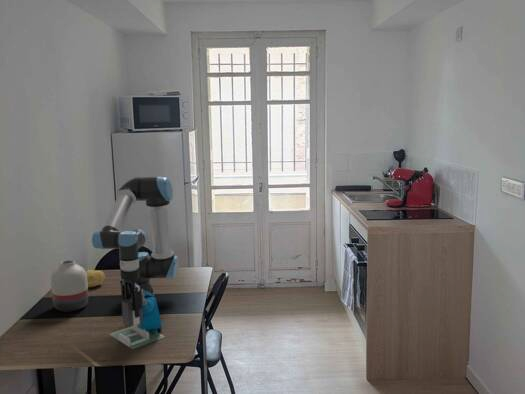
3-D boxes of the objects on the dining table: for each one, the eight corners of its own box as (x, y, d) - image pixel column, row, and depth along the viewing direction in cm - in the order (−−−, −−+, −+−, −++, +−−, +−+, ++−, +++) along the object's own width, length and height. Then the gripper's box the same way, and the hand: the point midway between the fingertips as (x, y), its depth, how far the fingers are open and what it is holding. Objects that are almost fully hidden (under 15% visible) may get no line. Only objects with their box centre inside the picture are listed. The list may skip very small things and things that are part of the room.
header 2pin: (131, 328, 228) (130, 322, 228) (144, 324, 233) (143, 318, 232) (137, 332, 224) (137, 326, 224) (150, 327, 229) (150, 321, 228)
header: (119, 340, 217) (118, 332, 216) (139, 333, 223) (139, 325, 223) (128, 346, 211) (128, 338, 210) (149, 339, 218) (149, 331, 217)
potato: (79, 284, 289) (78, 268, 288) (106, 283, 292) (105, 266, 290) (76, 291, 280) (74, 274, 278) (103, 289, 282) (102, 272, 280)
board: (108, 336, 223) (108, 333, 223) (141, 325, 234) (141, 322, 234) (132, 351, 209) (132, 348, 209) (165, 339, 220) (165, 336, 220)
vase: (65, 300, 267) (61, 256, 262) (95, 301, 263) (92, 257, 259) (46, 312, 250) (41, 266, 246) (77, 315, 247) (74, 267, 243)
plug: (122, 323, 215) (121, 299, 213) (137, 318, 220) (136, 295, 218) (128, 326, 211) (127, 303, 210) (143, 322, 216) (142, 298, 214)
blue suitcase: (163, 338, 221) (161, 294, 217) (138, 341, 218) (136, 296, 215) (160, 322, 237) (158, 281, 233) (137, 325, 234) (135, 283, 231)
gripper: (110, 266, 215) (114, 318, 219) (132, 275, 203) (136, 331, 206) (126, 262, 221) (130, 313, 224) (149, 271, 208) (152, 325, 212)
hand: (132, 322), depth 215 cm, fingers closed on plug, 5 cm apart
